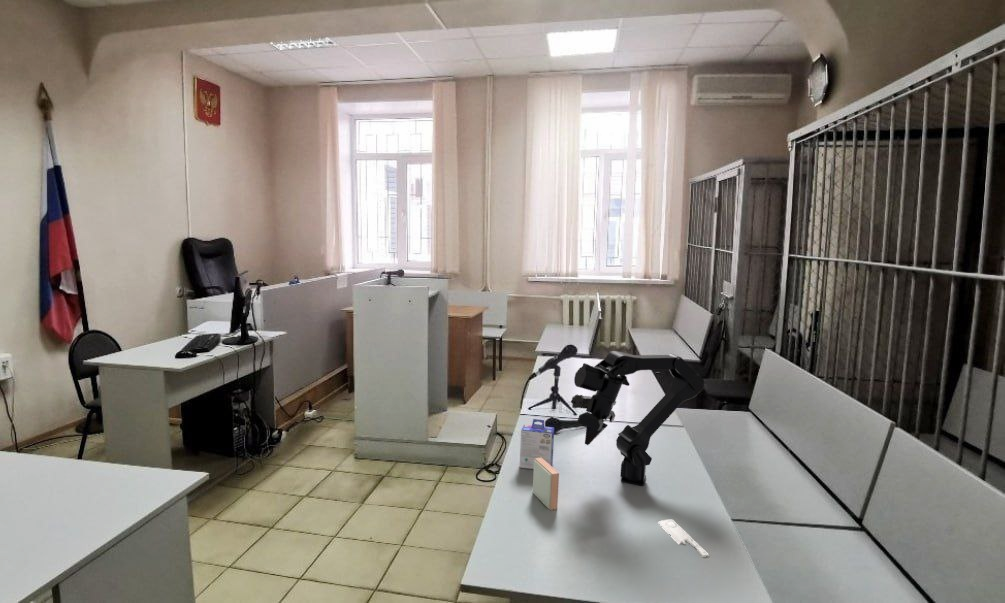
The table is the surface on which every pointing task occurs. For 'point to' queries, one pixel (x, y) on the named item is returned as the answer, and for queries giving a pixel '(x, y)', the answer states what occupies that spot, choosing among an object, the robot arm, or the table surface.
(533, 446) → the ink cartridge box
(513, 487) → the table surface
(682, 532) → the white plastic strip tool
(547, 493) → the tile
